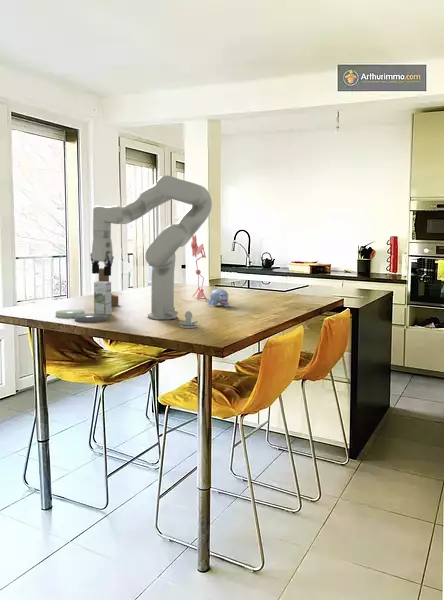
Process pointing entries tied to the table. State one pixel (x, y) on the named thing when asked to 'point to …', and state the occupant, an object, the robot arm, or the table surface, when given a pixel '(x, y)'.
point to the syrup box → (102, 297)
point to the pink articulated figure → (194, 250)
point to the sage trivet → (68, 313)
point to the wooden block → (106, 278)
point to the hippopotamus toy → (218, 297)
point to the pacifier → (188, 321)
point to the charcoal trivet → (90, 318)
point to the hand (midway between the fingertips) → (101, 274)
